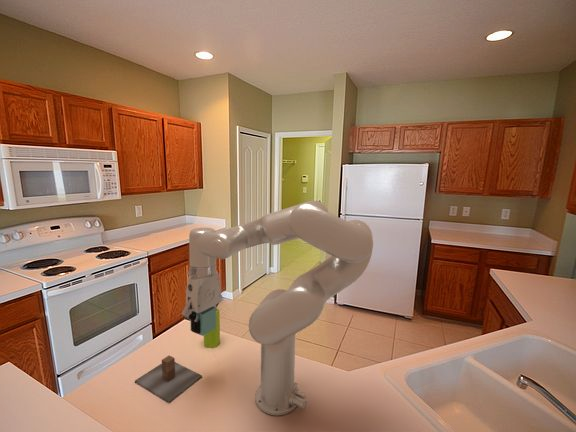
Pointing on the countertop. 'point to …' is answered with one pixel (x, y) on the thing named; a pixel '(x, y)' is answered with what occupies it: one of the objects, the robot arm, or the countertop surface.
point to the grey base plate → (168, 379)
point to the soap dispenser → (213, 334)
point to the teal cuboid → (207, 320)
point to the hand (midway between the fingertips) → (203, 327)
